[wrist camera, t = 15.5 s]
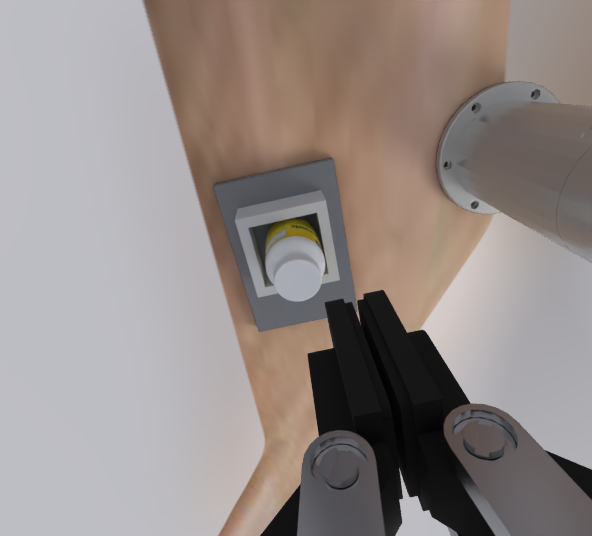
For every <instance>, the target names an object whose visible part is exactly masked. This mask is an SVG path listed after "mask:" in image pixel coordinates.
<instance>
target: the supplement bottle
mask: <svg viewBox="0 0 592 536" xmlns="http://www.w3.org/2000/svg"><path fill="white" fill-rule="evenodd" d="M265 259H266V260H265V266H266V273H267V275H268V278H269V279H270V281H271V282H272V283H273V284H274V286H275V288H276V290H277V292H278V293H279V294H280V295H281V296H282V297H283V298H285V299H287V300H290V301H296V302H298V301H305V300H307V299H309V298H311V297H313V296H314V295H315V294H316V293H317V292H318V290H319V289H320V286H321V283H322V276H323V274H324V271H325V258H324V254H323V251H322V248H321V245H320V242H319V239H318V236H317V233H316V230H315V228H314V226H313V225H312V224H311V223H310V222H309V221H308V220H307V219H305V218H304V217H301V216H300V217H295V218H291V219H286V220H282V221H277V222H273V223H272V224H271V226H270V227H269V229H268V231H267V235H266V258H265Z"/></svg>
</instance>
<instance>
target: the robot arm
mask: <svg viewBox="0 0 592 536" xmlns="http://www.w3.org/2000/svg"><path fill="white" fill-rule="evenodd" d="M531 93H532V94H531ZM473 105H474V108H473V110H472V106H473ZM445 162H446V165H445V166H444V163H445ZM436 169H437V175H438V180H439V182H440V185H441V187H442V189H443V191H444V192H445V193H446V195H447V196H448V198H450V199H451V200H452V201H453V202H454V203H455V204H457V205H458V206H460V207H462V208H463V209H465V210H468V211H470V212H473V213H479V214H496V213H500V212H502V213H504V214H506V215H508V216H509V217H511V218H513V219H515V220H516V221H518V222H520V223H522V224H523V225H525V226H527V227H529V228H530V229H532V230H534V231H536V232H537V233H539V234H541V235H543V236H544V237H546V238H548V239H550V240H551V241H553V242H555V243H557V244H559V245H560V246H562V247H564V248H565V249H567V250H569V251H571V252H573V253H574V254H576V255H578V256H580V257H582V258H584V259H585V260H587V261H589V262H591V263H592V106H581V105H569V104H560V102H559V100H558V99H557V98H556V97H555V96H554V95H553V93H551V92H550V91H548V90H547V89H545V88H544V87H542V86H540V85H537V84H534V83H531V82H520V81H518V82H505V83H500V84H496V85H493V86H491V87H489V88H486V89H484V90H482V91H480V92H479V93H477V94H476V95H474V96H473V97H471V98H470V99H469V100H468V101H467V102H465V103H464V104H463V105H462V106H461V107H460V108H459V109H458V111H457V112H456V113H455V114H454V116H453V117H452V118H451V119H450V121H449V123H448V125H447V126H446V128H445V130H444V132H443V135H442V137H441V140H440V142H439V146H438V151H437V158H436ZM472 202H473V203H472ZM471 203H472V204H471ZM324 303H325V308H326V313H327V318H328V323H329V328H330V333H331V337H332V342H333V347H334V348H332V349H327V350H322V351H317V352H313V353H308V362H309V369H310V376H311V383H312V390H313V397H314V404H315V411H316V419H317V426H318V433H319V437H318V438H316V439H315V440H314V441H313V442H312V443H311V444H310V445H309V447H308V449H307V450H306V452H305V454H304V458H303V463H302V474H301V484H300V485H299V487H298V488H297V489H296V491H295V492H294V493H293V494H292V496H291V497H290V498H289V499H288V501H287V502H286V503H285V505H284V506H283V507H282V508H281V510H280V511H279V512H278V514H277V515H276V516H275V517H274V519H273V520H272V521H271V523H270V524H269V525H268V526H267V528H266V529H265V530H264V532H263V533H262V534H261V535H260V536H395V535H396V533H397V531H398V529H399V527H400V525H401V524H402V517H401V510H400V502H399V499H402V498H403V495H402V487H401V479H400V471H401V474H402V477H403V480H404V483H405V486H406V489H407V492H408V494H409V496H410V497H414V496H418V498H419V501H420V504H421V506H422V509H423V511H426V510H429V511H430V513H431V516H432V517H433V518H435V519H436V520H438V521H439V522H441V523H443V524H444V525H446V526H447V527H448V529H449V532H450V535H451V536H592V470H591V469H589V468H586V467H584V466H581V465H579V464H577V463H574V462H572V461H570V460H567V459H564V458H562V457H560V456H558V455H555V454H553V453H550V452H548V451H546V450H544V449H543V448H542V447H541V446H540V445H539V444H538V443H537V442H536V441H535V440H534V439H533V438H532V436H530V434H529V433H528V432H527V431H526V430H525V429H524V428H523V427H522V426H521V425H520V424H519V423H518V422H517V421H516V420H515V419H514V418H512V417H511V416H510V415H509V414H508V413H506V412H504V411H502V410H500V409H498V408H496V407H492V406H488V405H485V404H471V403H470V402H469V400H468V398H467V397H466V395H465V394H464V392H463V390H462V389H461V387H460V386H459V384H458V382H457V381H456V379H455V378H454V376H453V374H452V373H451V371H450V370H449V368H448V366H447V365H446V363H445V362H444V360H443V358H442V357H441V355H440V354H439V352H438V350H437V349H436V347H435V346H434V344H433V342H432V341H431V339H430V338H429V336H428V335H427V333H426V332H425V331H424V330H419V331H414V332H409V333H407V332H406V330H405V328H404V327H403V325H402V323H401V321H400V319H399V317H398V316H397V314H396V312H395V310H394V308H393V306H392V305H391V303H390V301H389V299H388V297H387V295H386V294H385V292H384V290H380V291H375V292H371V293H366V294H364V299H362V300H358V301H357V303H358V310H359V316H360V322H359V319H358V317H357V314H356V311H355V309H354V306H353V303H352V302H348V303H345V302H344V299H343V298H342V299H338V300H333V301H328V302H324ZM360 323H361V325H360ZM399 468H400V471H399Z"/></svg>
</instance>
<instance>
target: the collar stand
mask: <svg viewBox="0 0 592 536" xmlns="http://www.w3.org/2000/svg"><path fill="white" fill-rule="evenodd" d="M213 188H214V191H215V194H216V197H217V200H218V204H219V207H220V210H221V213H222V216H223V219H224V223H225V226H226V229H227V232H228V235H229V239H230V242H231V245H232V248H233V251H234V254H235V258H236V261H237V264H238V267H239V270H240V274H241V277H242V280H243V283H244V286H245V289H246V293H247V296H248V299H249V302H250V305H251V309H252V312H253V315H254V318H255V321H256V324H257V328H258V331H259V332H261V331H266V330H271V329H275V328H280V327H285V326H290V325H294V324H299V323H304V322H309V321H313V320H318V319H323V318H327V313H326V308H325V303H324V302H328V301H333V300H338V299H342V298H343V299H344V302H345V303H348V302H352V303H353V306H354V309H355V311H357V305H356V299H355V292H354V286H353V280H352V273H351V267H350V261H349V254H348V248H347V242H346V235H345V229H344V223H343V216H342V210H341V204H340V197H339V191H338V185H337V178H336V172H335V166H334V159H333V158H332V157H331V158H327V159H323V160H318V161H314V162H309V163H305V164H300V165H296V166H292V167H287V168H283V169H278V170H274V171H269V172H265V173H260V174H256V175H252V176H247V177H243V178H238V179H234V180H229V181H225V182H221V183H216V184H214V186H213ZM300 216H301V217H304V218H305V219H307V220H308V221H309V222H310V223H311V224H312V225H313V226H314V228H315V230H316V233H317V236H318V239H319V242H320V245H321V248H322V251H323V254H324V258H325V271H324V274H323V276H322V283H321V286H320V289H319V290H318V292H317V293H316V294H315V295H314V296H313V297H311V298H309V299H307V300H305V301H298V302H296V301H290V300H287V299H285V298H283V297H282V296H281V295H280V294H279V293H278V292H277V290H276V288H275V286H274V284H273V283H272V282H271V281H270V279H269V278H268V275H267V273H266V266H265V260H266V259H265V258H266V235H267V231H268V229H269V227H270V226H271V224H272V223H273V222H277V221H282V220H286V219H291V218H295V217H300Z"/></svg>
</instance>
